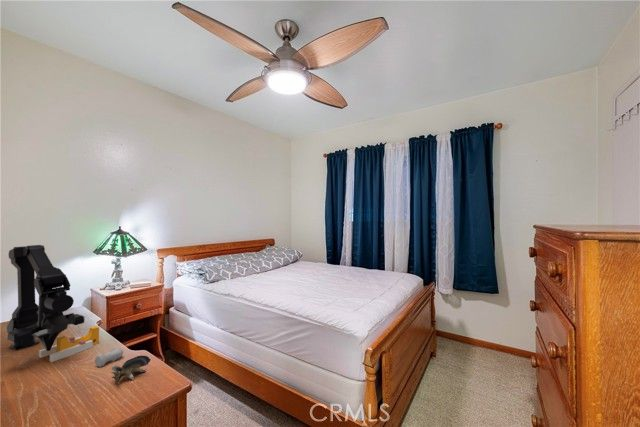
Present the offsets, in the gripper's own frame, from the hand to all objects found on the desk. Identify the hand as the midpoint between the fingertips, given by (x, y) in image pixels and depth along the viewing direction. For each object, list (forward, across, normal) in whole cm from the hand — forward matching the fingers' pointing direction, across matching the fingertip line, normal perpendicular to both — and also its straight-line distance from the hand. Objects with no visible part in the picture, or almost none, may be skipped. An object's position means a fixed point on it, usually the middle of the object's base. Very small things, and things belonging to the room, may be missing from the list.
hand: (48, 350), depth 94 cm
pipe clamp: (+3, +8, -1) cm, 9 cm away
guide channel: (+3, +5, 0) cm, 6 cm away
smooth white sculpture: (+3, +8, -22) cm, 24 cm away
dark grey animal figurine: (+3, +5, -40) cm, 40 cm away
